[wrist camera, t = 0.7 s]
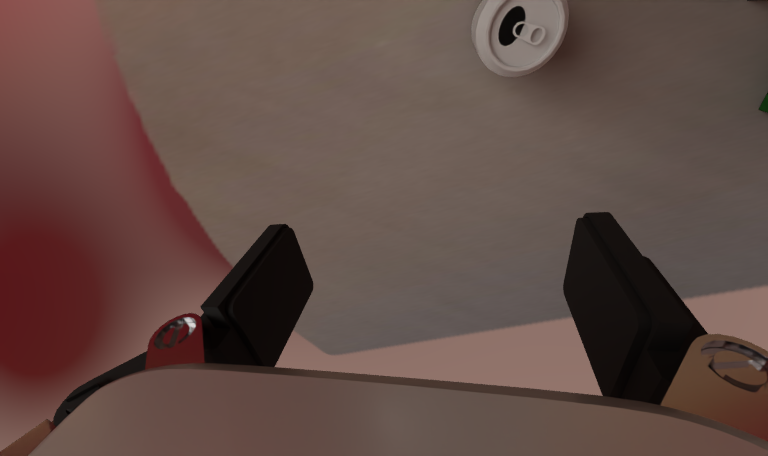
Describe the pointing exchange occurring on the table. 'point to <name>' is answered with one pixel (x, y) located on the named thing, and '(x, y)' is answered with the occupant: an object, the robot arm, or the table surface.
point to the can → (518, 34)
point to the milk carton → (764, 104)
